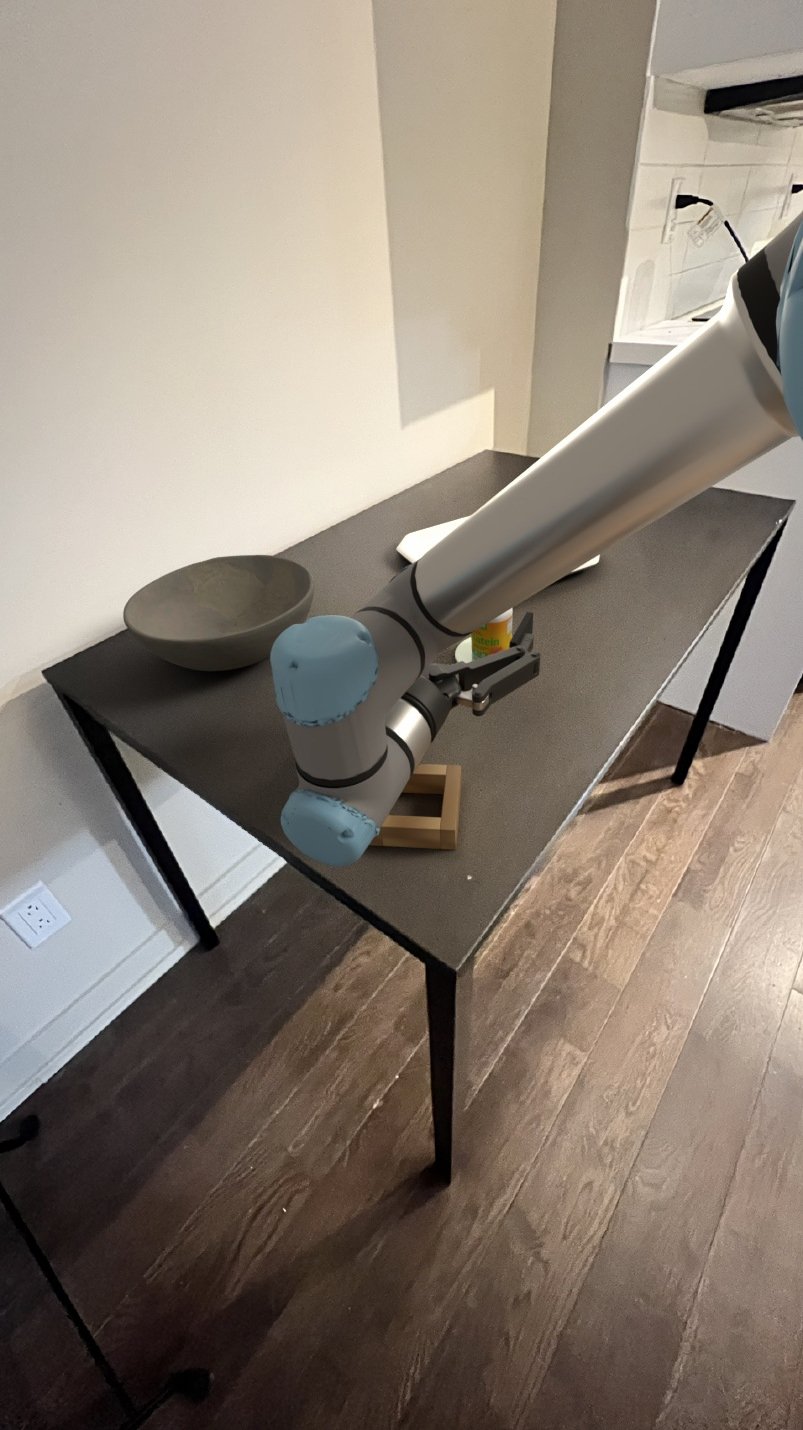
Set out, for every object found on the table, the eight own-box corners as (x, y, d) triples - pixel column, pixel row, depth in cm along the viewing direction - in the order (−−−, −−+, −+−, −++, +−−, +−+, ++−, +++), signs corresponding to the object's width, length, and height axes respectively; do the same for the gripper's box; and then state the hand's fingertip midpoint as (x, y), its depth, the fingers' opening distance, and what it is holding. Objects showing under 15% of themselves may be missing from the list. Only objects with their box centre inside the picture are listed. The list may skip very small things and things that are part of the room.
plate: (618, 566, 102) (620, 554, 101) (466, 618, 94) (466, 605, 93) (517, 512, 123) (518, 501, 122) (385, 550, 115) (384, 539, 113)
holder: (461, 784, 68) (461, 765, 66) (456, 850, 61) (455, 830, 59) (382, 781, 69) (379, 762, 67) (368, 845, 62) (364, 825, 61)
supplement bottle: (466, 660, 85) (465, 597, 78) (477, 639, 88) (477, 577, 82) (505, 666, 83) (507, 602, 77) (515, 644, 86) (517, 581, 80)
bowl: (110, 671, 91) (82, 611, 85) (239, 591, 107) (224, 536, 101) (234, 727, 79) (212, 662, 72) (360, 627, 95) (351, 567, 88)
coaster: (527, 636, 89) (527, 633, 89) (529, 678, 81) (529, 674, 81) (457, 636, 90) (457, 633, 90) (452, 677, 83) (452, 673, 83)
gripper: (295, 725, 67) (383, 624, 81) (523, 783, 57) (576, 658, 72) (281, 668, 62) (376, 572, 76) (526, 721, 53) (582, 600, 67)
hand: (473, 613), depth 74 cm, fingers open, 13 cm apart
